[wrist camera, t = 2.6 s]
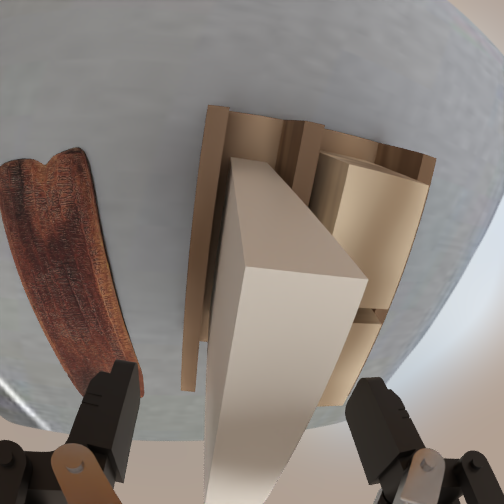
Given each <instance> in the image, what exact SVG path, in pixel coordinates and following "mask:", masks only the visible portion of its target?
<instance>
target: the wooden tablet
mask: <svg viewBox="0 0 504 504" xmlns="http://www.w3.org/2000/svg"><path fill="white" fill-rule="evenodd" d="M0 210H1V215H2V220H3V223H4V228H5V232H6V235H7V239H8V242H9V246H10V250H11V253H12V256H13V259H14V262H15V265H16V268H17V271H18V274H19V276H20V279H21V282H22V285H23V287H24V290H25V292H26V294H27V297H28V299H29V301H30V304H31V306H32V308H33V310H34V312H35V314H36V317H37V319H38V321H39V323H40V325H41V327H42V329H43V331H44V333H45V335H46V337H47V339H48V341H49V343H50V345H51V347H52V348H53V350H54V352H55V354H56V356H57V358H58V359H59V361H60V363H61V365H62V367H63V368H64V370H65V371H66V372H67V374H68V377H69V378H70V380H71V381H72V383H73V384H74V386H75V387H76V389H77V390H78V391H79V392H80V394H81V395H82V396H83V397H84V395H85V394H86V390H87V387H88V385H89V382H90V380H91V379H92V378H93V377H94V376H95V375H96V374H98V373H99V372H100V371H103V372H108V373H110V372H111V370H112V367H113V364H114V362H115V360H116V359H119V360H124V361H130V362H136V363H137V364H138V372H139V383H140V398H142V397H143V396H144V383H143V375H142V371H141V368H140V365H139V363H138V360H137V357H136V355H135V352H134V349H133V347H132V343H131V341H130V338H129V335H128V332H127V330H126V327H125V324H124V320H123V318H122V314H121V310H120V307H119V304H118V300H117V296H116V293H115V289H114V285H113V281H112V277H111V273H110V268H109V263H108V261H107V257H106V253H105V248H104V243H103V238H102V234H101V229H100V224H99V217H98V209H97V206H96V201H95V194H94V188H93V183H92V178H91V174H90V170H89V166H88V162H87V159H86V156H85V153H84V151H82V150H81V149H80V148H72V149H69V150H66V151H63V152H61V153H59V154H56V155H55V156H53V157H52V158H51V159H50V161H49V162H48V163H47V165H43V164H42V163H40V162H38V161H36V160H34V159H19V160H13V161H9V162H7V163H4V164H3V165H2V166H0Z"/></svg>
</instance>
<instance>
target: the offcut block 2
mask: <svg viewBox="0 0 504 504" xmlns="http://www.w3.org/2000/svg"><path fill="white" fill-rule="evenodd" d="M381 325H382V324H381V322H380V321H379V319H378V318H377V316H376V315H375V313H374V312H373V310H372V309H371V308H358V310H357V313H356V316H355V318H354V321H353V324H352V326H351V329H350V331H349V334H348V336H347V339H346V341H345V344H344V346H343V349H342V351H341V353H340V356H339V358H338V361H337V363H336V365H335V368H334V370H333V372H332V374H331V377H330V379H329V381H328V383H327V386H326V388H325V390H324V392H323V394H322V396H321V399H320V401H319V403H318V405H317V406H339V405H343V404H344V402H345V400H346V398H347V396H348V394H349V392H350V390H351V388H352V387H353V385H354V383H355V381H356V379H357V377H358V375H359V373H360V371H361V369H362V367H363V365H364V362H365V360H366V358H367V356H368V354H369V352H370V350H371V348H372V345H373V343H374V341H375V339H376V336H377V334H378V332H379V330H380V327H381Z"/></svg>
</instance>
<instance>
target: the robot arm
mask: <svg viewBox="0 0 504 504" xmlns="http://www.w3.org/2000/svg"><path fill="white" fill-rule="evenodd" d="M139 405H140V383H139V372H138V364H137V363H136V362H130V361H124V360H119V359H116V360H115V362H114V364H113V367H112V370H111V372H110V373H108V372H103V371H100V372H99V373H98V374H96V375H95V376H94V377H93V378H92V379H91V380H90V382H89V385H88V387H87V390H86V394H85V395H84V397H83V400H82V404H81V405H80V408H79V410H78V413H77V416H76V418H75V421H74V424H73V427H72V429H71V432H70V435H69V438H68V440H67V441H66V443H65V444H64V445H62V446H60V447H58V448H57V449H56V450H54V451H51V452H31V451H23V449H22V448H21V447H20V446H19V445H18V444H17V443H15V442H12V441H9V440H2V441H0V504H122V503H121V501H120V499H119V498H118V496H117V495H116V493H115V491H114V490H113V489H114V483H115V481H116V482H121V483H124V478H125V473H126V467H127V462H128V457H129V452H130V447H131V442H132V437H133V433H134V428H135V423H136V419H137V414H138V410H139ZM345 416H346V420H347V422H348V425H349V428H350V431H351V434H352V437H353V439H354V442H355V445H356V448H357V451H358V454H359V457H360V460H361V462H362V466H363V468H364V471H365V474H366V477H367V480H368V483H369V485H372V484H378V483H380V484H381V487H382V488H381V489H380V490H379V491H378V493H377V496H376V499H375V501H374V503H373V504H460V501H459V499H458V498H459V497H461V496H462V495H464V497H465V500H466V503H467V504H504V494H503V492H502V490H501V488H500V486H499V483H498V481H497V479H496V477H495V475H494V473H493V471H492V469H491V467H490V465H489V463H488V461H487V459H486V458H485V456H484V455H483V454H481V453H480V452H477V451H468V452H467V453H465V454H464V456H462V457H461V458H460V459H444V458H443V457H442V456H441V455H440V454H439V453H438V452H437V451H435V450H433V449H430V448H426V447H425V446H424V444H423V442H422V440H421V438H420V436H419V434H418V432H417V430H416V428H415V426H414V424H413V422H412V420H411V418H409V414H408V412H407V411H406V410H405V407H404V405H403V403H402V401H401V399H400V398H399V397H398V396H397V395H396V394H395V393H394V392H393V391H392V390H391V389H387V387H386V385H385V383H384V381H383V379H382V378H380V377H372V378H361V379H360V380H359V381H358V383H357V385H356V387H355V389H354V391H353V393H352V395H351V397H350V399H349V400H348V402H347V405H346V409H345Z"/></svg>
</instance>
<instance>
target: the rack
mask: <svg viewBox="0 0 504 504" xmlns="http://www.w3.org/2000/svg"><path fill="white" fill-rule="evenodd" d="M229 108H230V107H222V106H214V105H208V109H207V115H206V121H205V128H204V135H203V142H202V149H201V156H200V163H199V171H198V178H197V186H196V195H195V203H194V212H193V221H192V230H191V240H190V251H189V262H188V273H187V286H186V299H185V313H184V330H183V348H182V371H181V390H182V391H191V392H195V386H196V374H197V362H198V350H199V341H205V342H208V328H209V311H210V303H211V295H212V286H213V278H214V270H215V263H216V255H217V247H218V240H219V232H220V225H221V218H222V211H223V204H224V197H225V190H226V184H227V177H228V170H229V164H230V157H235V158H242V159H248V160H255V161H261V162H267V163H268V164H269V165H270V166H271V167H272V168H273V169H274V171H275V172H276V173H277V174H278V175H279V176H280V177H281V178H282V179H283V180H284V181H285V182H286V184H287V185H288V186H289V187H290V188H291V189H292V190H293V191H294V192H295V194H296V195H297V196H298V197H299V198H300V199H301V200H302V201H303V202H304V204H305V205H306V206H307V207H308V205H309V200H310V196H311V191H312V186H313V182H314V177H315V172H316V167H317V162H318V157H319V152H320V150H323V151H328V152H332V153H337V154H341V155H345V156H349V157H354V158H358V159H362V160H366V161H368V162H371V163H374V164H377V165H379V166H382V167H385V168H387V169H390V170H392V171H395V172H397V173H400V174H402V175H405V176H407V177H410V178H412V179H415V180H417V181H419V182H422V183H424V184H427V185H429V187H430V184H431V180H432V176H433V171H434V167H435V163H436V158H434V157H431V156H428V155H425V154H422V153H418V152H414V151H411V150H407V149H403V148H399V147H395V146H390V145H386V144H382V143H378V142H374V141H371V140H367V139H363V138H360V137H356V136H352V135H348V134H345V133H341V132H337V131H332V130H328V129H324V127H325V125H322V124H317V123H313V122H308V121H298V120H281V119H276V118H270V117H265V116H259V115H253V114H246V113H240V112H233V111H229ZM428 191H429V188H428ZM427 195H428V192H427ZM427 195H426V199H427ZM426 199H425V202H426ZM424 206H425V203H424ZM424 206H423V210H424ZM423 210H422V213H423ZM422 213H421V216H422ZM420 220H421V217H420ZM420 220H419V223H420ZM419 223H418V226H419ZM417 230H418V227H417ZM417 230H416V233H417ZM416 233H415V236H416ZM415 236H414V239H415ZM413 242H414V240H413ZM412 245H413V243H412ZM411 248H412V246H411ZM410 251H411V249H410ZM409 254H410V252H409ZM408 257H409V255H408ZM407 260H408V258H407ZM407 260H406V263H407ZM406 263H405V266H406ZM405 266H404V269H405ZM404 269H403V271H404ZM402 274H403V272H402ZM401 277H402V275H401ZM401 277H400V280H401ZM400 280H399V282H400ZM398 285H399V283H398ZM398 285H397V288H398ZM397 288H396V290H397ZM395 293H396V291H395ZM395 293H394V295H395ZM393 298H394V296H393ZM393 298H392V300H393ZM391 303H392V301H391ZM391 303H390V305H391ZM389 308H390V306H389ZM389 308H388V309H372V308H371V309H372V310H373V312H374V313H375V315H376V316H377V318H378V319H379V321H380V322H381V324H382V325H383V322H384V320H385V318H386V315H387V313H388V310H389ZM382 325H381V327H382ZM381 327H380V329H381ZM379 332H380V330H379ZM379 332H378V334H379ZM378 334H377V336H378ZM377 336H376V338H377ZM375 341H376V339H375ZM375 341H374V343H375ZM374 343H373V345H374ZM373 345H372V347H373ZM371 349H372V348H371ZM370 351H371V350H370ZM369 354H370V352H369ZM369 354H368V356H369ZM368 356H367V358H368ZM367 358H366V360H367ZM366 360H365V362H366ZM365 362H364V364H365ZM363 366H364V365H363ZM362 368H363V367H362ZM361 370H362V369H361ZM360 372H361V371H360ZM359 374H360V373H359ZM358 376H359V375H358ZM357 378H358V377H357ZM356 380H357V379H356ZM355 382H356V381H355ZM354 384H355V383H354ZM353 386H354V385H353ZM352 388H353V387H352ZM352 388H351V390H352ZM351 390H350V392H351ZM350 392H349V394H350ZM349 394H348V396H349Z"/></svg>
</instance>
